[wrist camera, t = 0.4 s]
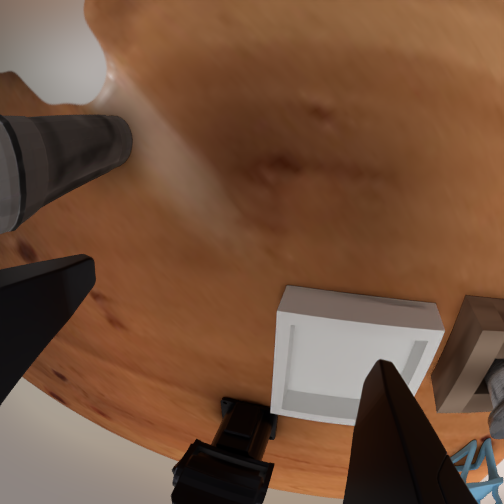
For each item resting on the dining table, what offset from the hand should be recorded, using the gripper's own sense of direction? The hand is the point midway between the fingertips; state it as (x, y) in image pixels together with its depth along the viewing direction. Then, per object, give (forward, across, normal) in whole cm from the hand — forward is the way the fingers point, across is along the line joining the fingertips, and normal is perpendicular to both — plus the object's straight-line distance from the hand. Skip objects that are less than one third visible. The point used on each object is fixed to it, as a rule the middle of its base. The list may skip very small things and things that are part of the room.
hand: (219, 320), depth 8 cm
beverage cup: (+14, +16, -1) cm, 21 cm away
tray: (+14, -8, +12) cm, 20 cm away
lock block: (+14, -20, +7) cm, 26 cm away
